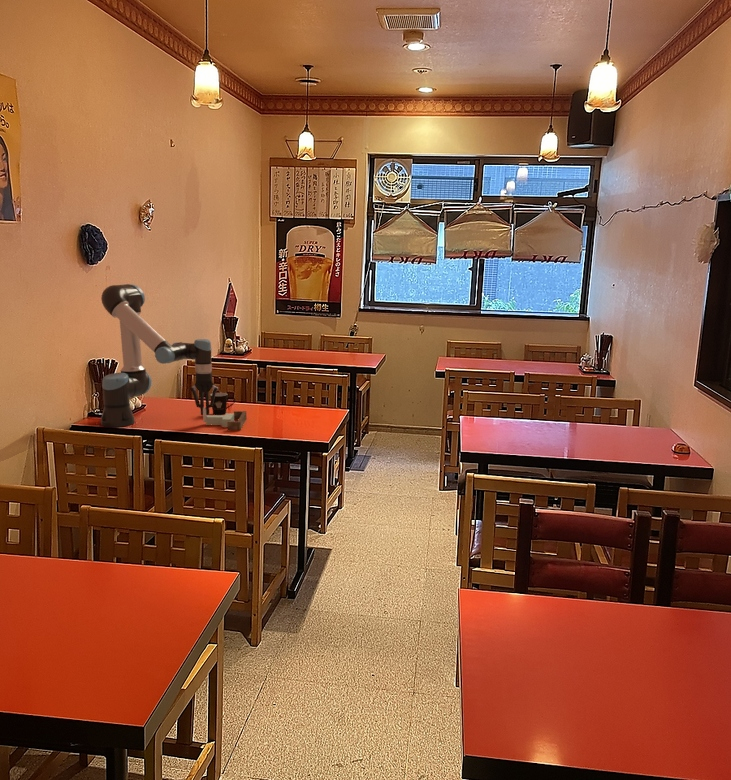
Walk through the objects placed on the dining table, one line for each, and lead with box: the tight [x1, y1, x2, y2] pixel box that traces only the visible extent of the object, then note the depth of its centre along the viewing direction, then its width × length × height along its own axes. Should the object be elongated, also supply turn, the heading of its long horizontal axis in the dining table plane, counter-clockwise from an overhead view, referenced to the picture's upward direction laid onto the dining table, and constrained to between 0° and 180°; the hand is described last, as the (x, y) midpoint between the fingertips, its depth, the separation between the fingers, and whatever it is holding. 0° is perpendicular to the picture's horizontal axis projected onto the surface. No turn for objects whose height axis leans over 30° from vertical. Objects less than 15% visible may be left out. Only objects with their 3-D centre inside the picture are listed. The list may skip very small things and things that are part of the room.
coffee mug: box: [209, 392, 236, 415], centre depth 352 cm, size 12×9×10 cm
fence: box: [227, 410, 248, 431], centre depth 331 cm, size 6×22×4 cm, turn 3°
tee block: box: [205, 412, 235, 427], centre depth 331 cm, size 12×12×4 cm
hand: (205, 421), depth 330 cm, fingers closed
